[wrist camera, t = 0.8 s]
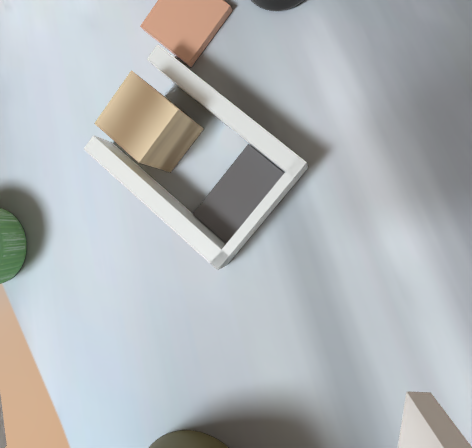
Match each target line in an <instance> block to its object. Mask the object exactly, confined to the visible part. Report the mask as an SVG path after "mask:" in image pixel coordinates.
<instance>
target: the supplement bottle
mask: <svg viewBox="0 0 472 448" xmlns="http://www.w3.org/2000/svg"><path fill="white" fill-rule="evenodd" d="M251 1H252V2H253V3H254V4H256V5H257V6H259V7H260V8H263V9H266V10H270V11H282V10H287V9H290V8H292V7H295V6H296V5H298V4H300V3H301V2H302V1H304V0H251Z"/></svg>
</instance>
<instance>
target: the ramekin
mask: <svg viewBox="0 0 472 448" xmlns="http://www.w3.org/2000/svg"><path fill="white" fill-rule="evenodd" d="M26 248H27V246H26V237H25V233H24V230H23V228H22V226H21V224H20V222H19V221H18V220H17V218H16V217H15V216H14V215H13V214H11V213H10V212H8V211H6V210H5V209H2V208H0V284H1V283H4V282H6V281H8V280H10V279H11V278H13V277H14V276H15V275H16V274H17V273H18V272H19V270H20V269H21V267H22V265H23V263H24V260H25V256H26Z"/></svg>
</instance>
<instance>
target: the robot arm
mask: <svg viewBox="0 0 472 448" xmlns="http://www.w3.org/2000/svg"><path fill="white" fill-rule="evenodd" d="M6 446H7V445H6V437H5V429H4V421H3V412H2V404H1V396H0V448H5V447H6ZM398 448H472V447H471V445H470V444H469V443H468V441H467V440H466V439H465V437H464V436H463V435H462V433H461V432H460V431H459V429H458V428H457V427H456V426H455V424H454V423H453V422H452V420H451V419H450V418H449V416H448V415H447V414H446V412H445V411H444V410H443V408H442V407H441V406H440V404H439V403H438V402H437V400H436V399H435V398H434V396H433V395H432V394H431V393H428V392H406V399H405V405H404V411H403V417H402V424H401V430H400V436H399V442H398Z"/></svg>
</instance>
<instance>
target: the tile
mask: <svg viewBox="0 0 472 448" xmlns="http://www.w3.org/2000/svg"><path fill="white" fill-rule="evenodd" d="M231 12H232V8H231V6H230V5H229V4H227V3H226V2H225V1H223V0H158V1H157V3H156V4H155V6H154V7H153V8H152V10H151V11H150V13H149V14H148V16H147V17H146V19H145V20H144V22H143V23H142V24H141V26H140V27H141V28H142V29H143V30H144V31H145V32H147V33H148V34H149V35H150V36H152V37H153V38H154V39H155V40H157V41H158V42H159V43H161V44H162V45H163V46H164V47H166V48H167V49H168V50H169V51H171V52H172V53H173V54H174V55H176V56H177V57H178V58H180V59H181V60H182V61H183V62H185V63H186V64H187V65H188V66H190V67H192V66H193V64H194V63H195V62H196V60H197V59H198V57H199V56H200V55H201V53H202V52H203V51H204V49H205V48H206V47H207V45H208V44H209V42H210V41H211V40H212V38H213V37H214V36H215V34H216V33H217V31H218V30H219V29H220V27H221V26H222V25H223V23H224V22H225V20H226V19H227V18H228V16H229V15H230V14H231Z"/></svg>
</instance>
